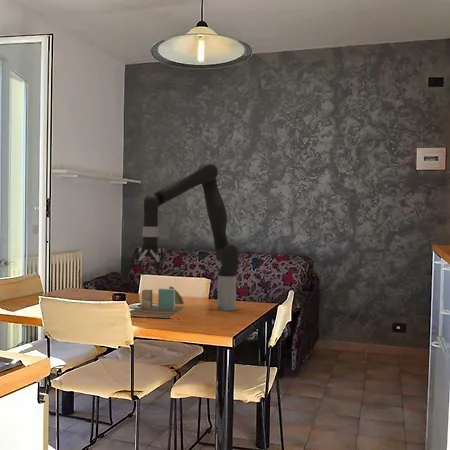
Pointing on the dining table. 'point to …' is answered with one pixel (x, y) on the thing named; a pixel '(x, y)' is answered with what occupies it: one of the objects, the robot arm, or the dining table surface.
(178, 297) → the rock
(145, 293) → the block
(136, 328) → the dining table surface
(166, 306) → the tile
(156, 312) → the board
